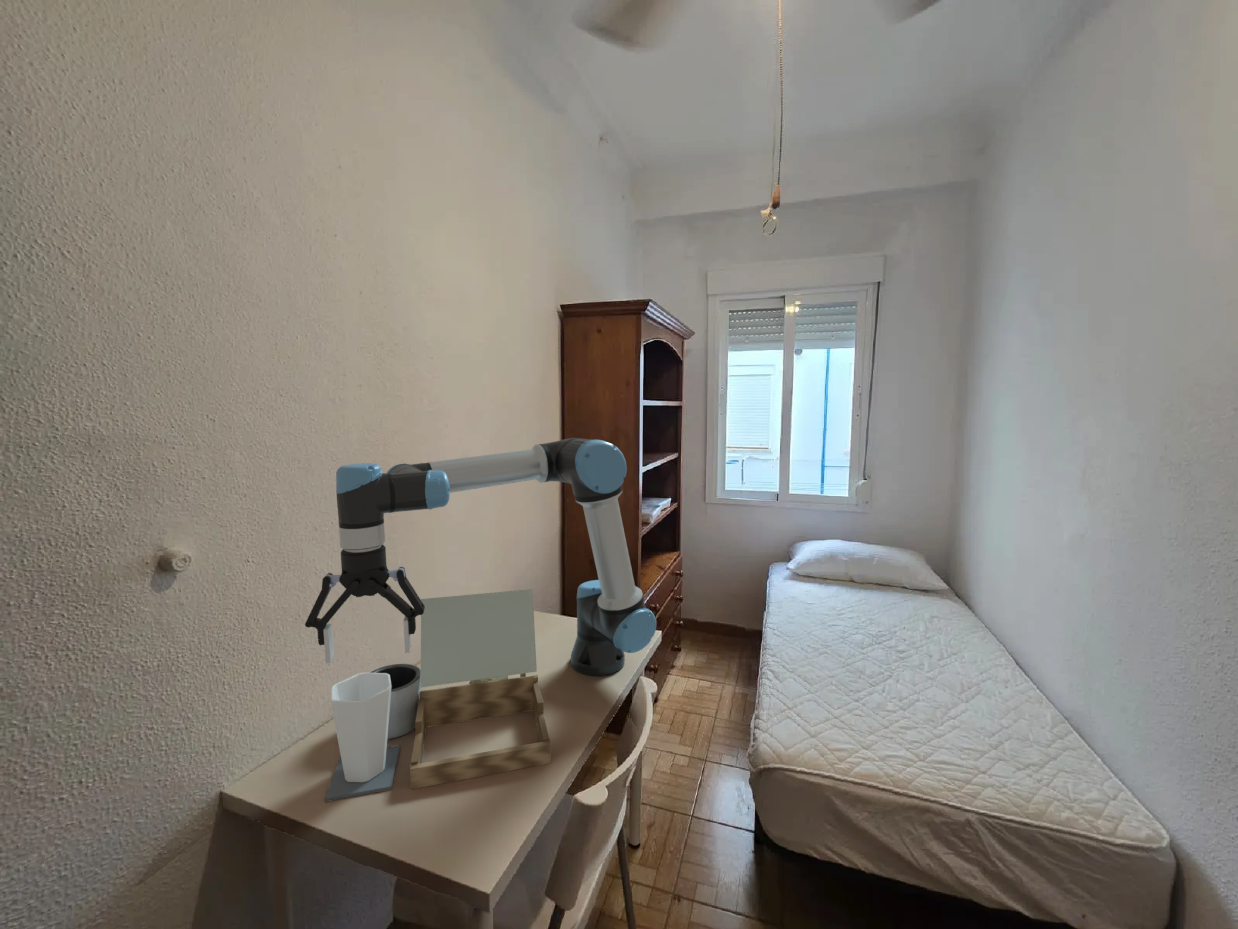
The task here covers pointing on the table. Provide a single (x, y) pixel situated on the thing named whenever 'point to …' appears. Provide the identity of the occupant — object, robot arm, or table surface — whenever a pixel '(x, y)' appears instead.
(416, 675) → the planter
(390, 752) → the mat
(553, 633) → the table surface
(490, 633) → the lid
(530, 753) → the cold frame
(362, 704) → the cup
